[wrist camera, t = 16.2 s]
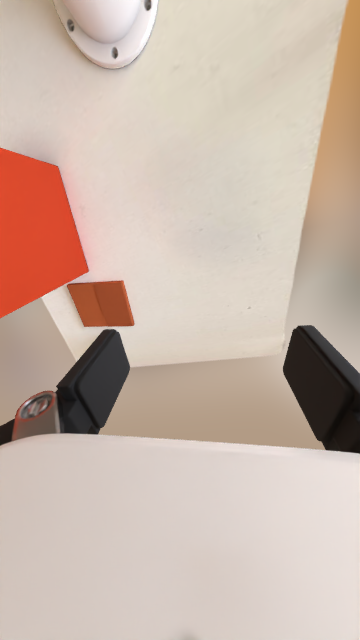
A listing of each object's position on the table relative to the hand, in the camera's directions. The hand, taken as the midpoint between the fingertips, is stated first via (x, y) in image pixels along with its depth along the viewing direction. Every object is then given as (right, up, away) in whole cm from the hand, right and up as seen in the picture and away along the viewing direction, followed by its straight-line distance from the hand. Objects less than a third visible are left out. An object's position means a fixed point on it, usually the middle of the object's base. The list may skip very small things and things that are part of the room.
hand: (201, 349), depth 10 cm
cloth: (-19, +5, +32) cm, 38 cm away
